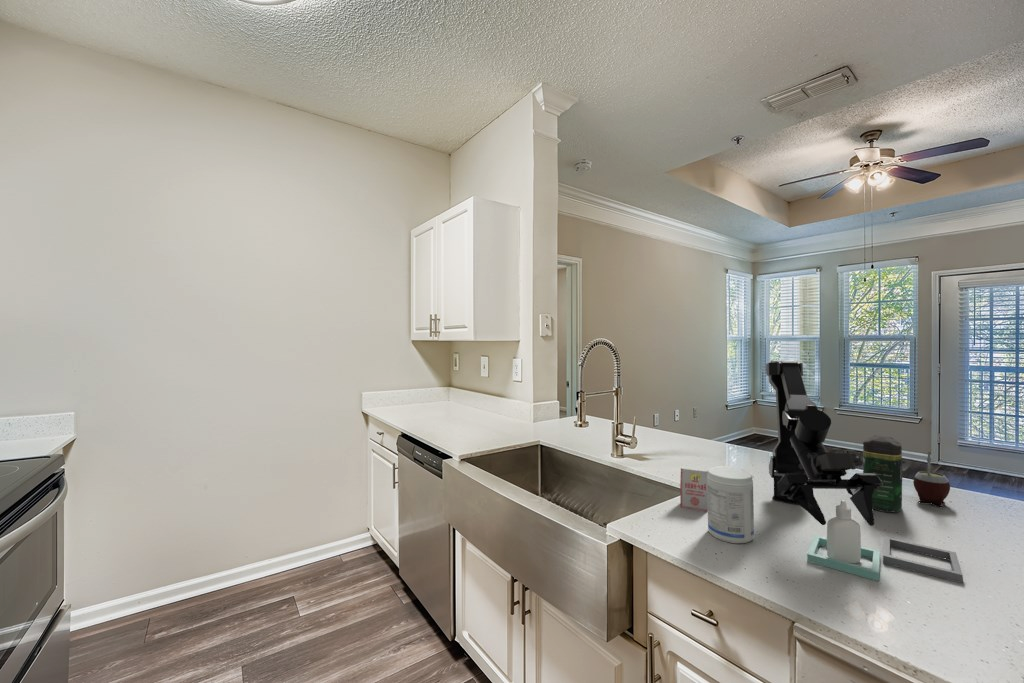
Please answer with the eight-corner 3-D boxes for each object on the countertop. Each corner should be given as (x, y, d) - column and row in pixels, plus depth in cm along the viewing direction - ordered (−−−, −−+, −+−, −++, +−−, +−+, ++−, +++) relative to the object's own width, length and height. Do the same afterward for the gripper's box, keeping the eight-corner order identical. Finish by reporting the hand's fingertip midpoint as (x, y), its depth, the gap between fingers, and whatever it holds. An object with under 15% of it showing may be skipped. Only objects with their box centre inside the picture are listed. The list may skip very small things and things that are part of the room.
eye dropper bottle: (825, 551, 90) (824, 495, 90) (859, 558, 87) (858, 499, 87) (828, 560, 86) (827, 501, 86) (863, 568, 84) (863, 507, 84)
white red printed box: (681, 502, 118) (681, 466, 118) (708, 506, 115) (708, 469, 115) (680, 507, 115) (680, 470, 115) (708, 511, 112) (707, 473, 112)
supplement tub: (726, 523, 104) (725, 463, 104) (763, 539, 96) (763, 474, 96) (698, 531, 100) (697, 469, 100) (735, 549, 92) (734, 480, 92)
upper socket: (883, 562, 85) (883, 555, 85) (883, 543, 94) (883, 536, 94) (962, 583, 78) (962, 575, 78) (955, 559, 86) (955, 552, 86)
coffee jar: (902, 516, 107) (901, 442, 107) (861, 508, 113) (860, 438, 113) (903, 505, 114) (902, 436, 114) (865, 498, 120) (864, 432, 120)
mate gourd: (934, 498, 119) (933, 445, 119) (961, 510, 111) (960, 452, 111) (905, 498, 119) (904, 444, 120) (929, 509, 112) (929, 452, 112)
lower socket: (807, 561, 86) (807, 553, 86) (814, 541, 94) (814, 535, 94) (878, 581, 79) (878, 573, 79) (880, 558, 87) (879, 550, 87)
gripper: (783, 435, 91) (818, 506, 80) (875, 435, 90) (923, 508, 79) (764, 461, 99) (793, 529, 88) (849, 462, 98) (888, 531, 87)
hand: (848, 524), depth 85 cm, fingers open, 9 cm apart
